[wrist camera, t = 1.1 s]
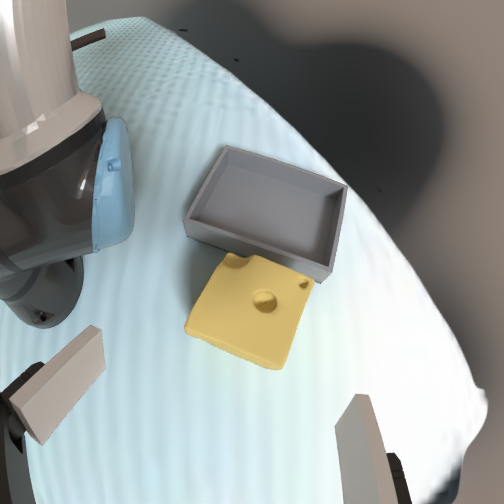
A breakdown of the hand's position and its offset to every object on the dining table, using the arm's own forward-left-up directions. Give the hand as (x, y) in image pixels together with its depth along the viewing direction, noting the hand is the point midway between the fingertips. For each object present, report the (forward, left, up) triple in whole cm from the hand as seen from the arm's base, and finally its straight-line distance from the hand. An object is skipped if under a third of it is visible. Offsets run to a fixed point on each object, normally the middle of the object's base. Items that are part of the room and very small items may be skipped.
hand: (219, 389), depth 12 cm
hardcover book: (-107, +87, -22) cm, 139 cm away
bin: (-2, +24, -21) cm, 32 cm away
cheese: (0, +8, -22) cm, 23 cm away
